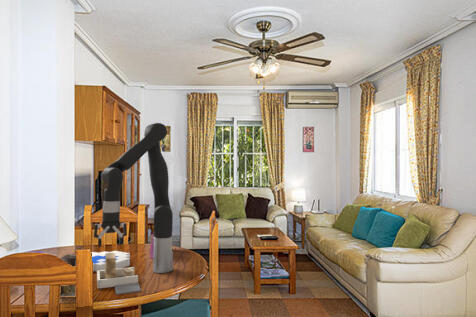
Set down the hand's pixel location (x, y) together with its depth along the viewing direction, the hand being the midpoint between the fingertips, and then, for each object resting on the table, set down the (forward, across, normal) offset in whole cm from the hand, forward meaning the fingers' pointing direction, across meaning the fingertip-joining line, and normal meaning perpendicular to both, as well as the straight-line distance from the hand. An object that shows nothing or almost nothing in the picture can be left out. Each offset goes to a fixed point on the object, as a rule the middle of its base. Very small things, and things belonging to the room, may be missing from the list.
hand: (110, 245), depth 160 cm
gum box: (+16, -31, -43) cm, 55 cm away
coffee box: (+17, +14, +12) cm, 25 cm away
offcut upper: (+14, -8, 0) cm, 16 cm away
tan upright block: (+16, 0, 0) cm, 16 cm away
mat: (+16, -7, +13) cm, 22 cm away
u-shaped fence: (+16, -3, 0) cm, 17 cm away
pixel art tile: (+17, +2, -31) cm, 35 cm away
